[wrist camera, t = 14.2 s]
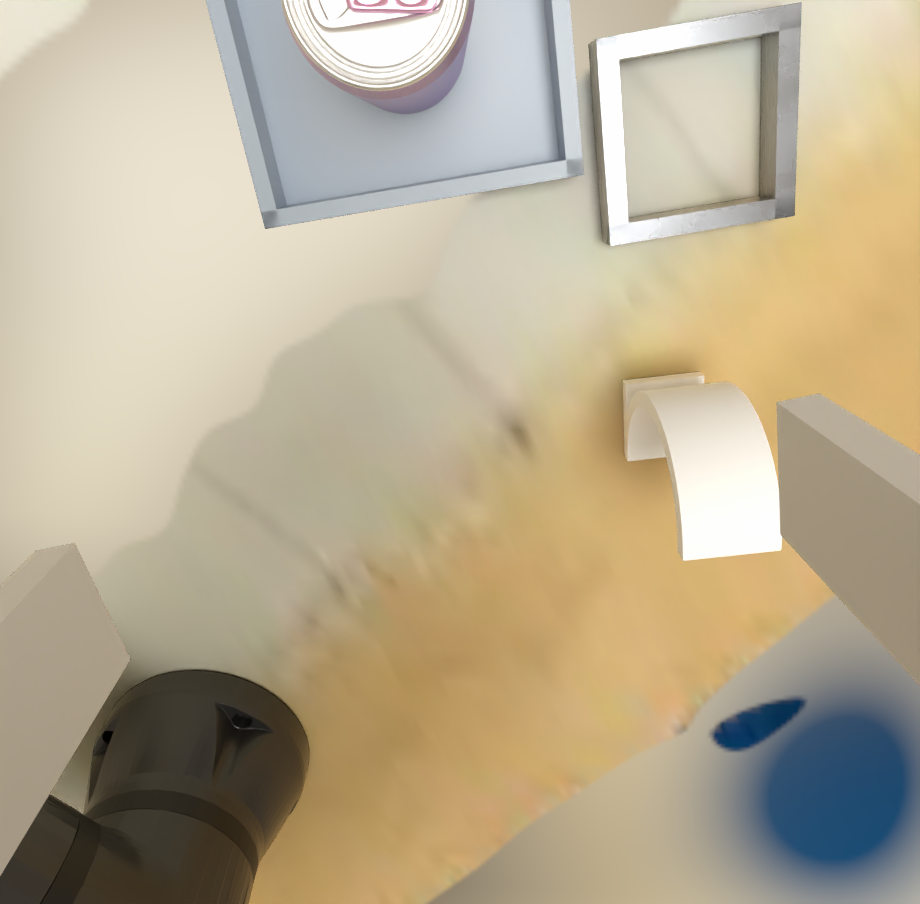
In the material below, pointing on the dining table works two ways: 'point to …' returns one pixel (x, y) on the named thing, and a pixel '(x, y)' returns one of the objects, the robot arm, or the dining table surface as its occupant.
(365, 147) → the tray
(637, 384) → the white curved strip
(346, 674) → the dining table surface
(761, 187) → the socket collar
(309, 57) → the beverage can
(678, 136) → the dining table surface
